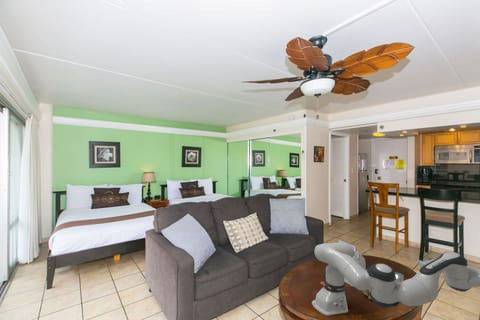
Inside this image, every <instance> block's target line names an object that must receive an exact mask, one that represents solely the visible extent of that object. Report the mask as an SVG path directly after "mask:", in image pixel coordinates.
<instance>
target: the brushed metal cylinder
mask: <svg viewBox="0 0 480 320" xmlns="http://www.w3.org/2000/svg"><path fill="white" fill-rule="evenodd" d="M395 275H396V282H403V281H405V280H404V274H403V273H401V272H396V271H395Z"/></svg>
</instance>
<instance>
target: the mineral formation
mask: <svg viewBox="0 0 480 320" xmlns="http://www.w3.org/2000/svg"><path fill="white" fill-rule="evenodd" d="M361 291H362V290H361ZM362 293H363V294H364V295H365V296H367V298H368V299H369V300H372V299H371V295H370V289H367V290H364V291H362Z"/></svg>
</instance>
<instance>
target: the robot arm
mask: <svg viewBox="0 0 480 320" xmlns="http://www.w3.org/2000/svg"><path fill="white" fill-rule="evenodd" d="M350 244H351V243H349V242H347V243H343V242H339V241H338V242H337V243H336V242H327V243H326V242H325V243H320V244H317V245H316V246H314V247H315V248H314V256H315V258H316V259H317V260H318V261H319V262H323V263H326V264H328V265H327V266H326V267H325V280H324V281H321V282H320V285H322V286H323V287H322V288H321V289H320V290H319V291H318V292H317V293H316V296H315V299H313V300H312V301H311V305H312V307H313V308H314V309H315V310H316V311H317V312H319V313H320V314H322V315H324V316H326V317H327V316H334V315H339V314H346V313H349V309H348V306H349V305H348V303H347V297H346V282H345V281H344V277H345V278H346V279H347V280H348V281H349V282H350V283H351V284H352V285H353V286H354V288H355V289H357V290H359V291H364V290H367V289H370V295H371V299H370V300H372V302H373V303H374V304H375V305H377V306H378V307H380V308H382V309H389V308H393V307H397V306H399V304H400V303H401V304H403V305H404V306H407V307H417V306H422V305H427V304H429V303H432V302H434V301H436V299H437V298H438V296H439V293H440V291H439V288H440V287H439V286H440V285H439V284H440V283H439V281H440V275H441V274H442V275H443V278H444V282H445V284H446V285H447V287H449V288H450V289H453V290H455V291H458V292H463V293H465V292H468V291H469V290H470V289H472V288H480V268H477V267H475V266H471V265H468V260H467V259H466V257H464V256H463V255H462V254H460V253H458V252H455V251H445V252H443V253H441V254H440V255H439V256H438V257H437V258H436V257H431V256H430V257H429V256H428V257H427V260H424V261H422V260H421V259H417V260H416V262H417V264H419V266H420V268H419V270H418V272H417V273H416V274H415V275H413V277H411V278H408V279H405V280H404V281H403V282H396V275H395V272H396V271H395V269H394V268H393V267H391V266H390V265H389V264H385V263H382V262H381V263H379V262H378V263H375V264H372V265H370V266H368V267H367V268H366V270H367V271H366V270H364V269H363V268H362V267H361V266H360V265H359V264H358V263H357V262H356V261H355V260H354V259H353V257H354V249H353V247H352V246H351V245H350ZM353 286H352V287H353Z"/></svg>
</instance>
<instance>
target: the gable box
mask: <svg viewBox="0 0 480 320" xmlns="http://www.w3.org/2000/svg"><path fill="white" fill-rule="evenodd" d="M338 242H343V243H348V242H347V241H344V240H342V239H338ZM338 242H335V243H338ZM349 244H350V245H351V246H352V247H353V249H354V257H353V259H354V260H355V261H356V262H357V263H358V264H359V265H360V266H361V267H362V268H363V269H364V270H367V268H366V266H367V265H366V259H365V258H364V256H363V255H362V254H361V252H360V251H359V250H358V246H356V245H354V244H352V243H349ZM344 283H345V284H346V283H347V284H348V285H350V286H351V287H354V286H353V285H352V284H351V283H350V282H349V281H348V280H347V279H346V278H345V277H344ZM354 288H355V287H354Z"/></svg>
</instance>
